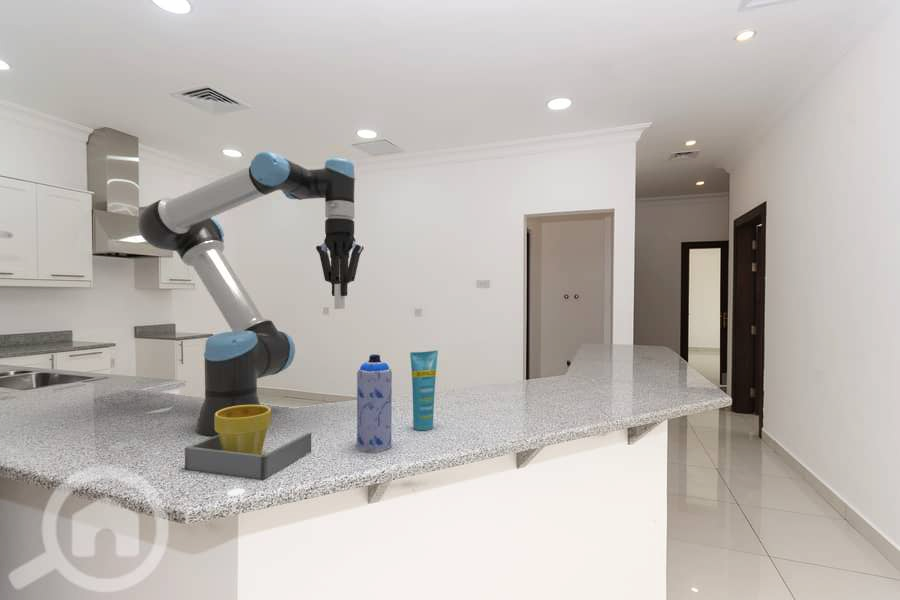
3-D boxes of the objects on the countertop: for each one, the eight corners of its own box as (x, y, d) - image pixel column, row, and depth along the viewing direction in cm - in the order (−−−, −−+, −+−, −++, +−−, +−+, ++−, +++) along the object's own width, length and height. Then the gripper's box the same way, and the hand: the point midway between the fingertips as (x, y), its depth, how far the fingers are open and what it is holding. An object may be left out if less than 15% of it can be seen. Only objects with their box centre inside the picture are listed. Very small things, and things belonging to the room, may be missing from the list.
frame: (184, 468, 86) (184, 447, 86) (240, 443, 101) (241, 425, 101) (264, 479, 81) (264, 457, 81) (311, 451, 96) (311, 432, 96)
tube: (415, 432, 110) (415, 353, 109) (405, 427, 114) (406, 350, 113) (441, 427, 114) (441, 351, 113) (431, 423, 118) (431, 349, 118)
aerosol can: (398, 447, 99) (399, 355, 99) (365, 455, 94) (365, 358, 94) (382, 438, 105) (382, 351, 105) (350, 444, 101) (350, 354, 100)
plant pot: (270, 464, 89) (270, 414, 88) (211, 471, 85) (211, 419, 85) (271, 447, 98) (271, 402, 98) (217, 453, 95) (217, 406, 94)
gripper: (310, 218, 118) (309, 308, 119) (355, 216, 115) (355, 309, 115) (325, 222, 126) (325, 308, 126) (368, 220, 122) (368, 308, 122)
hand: (339, 308), depth 121 cm, fingers closed
